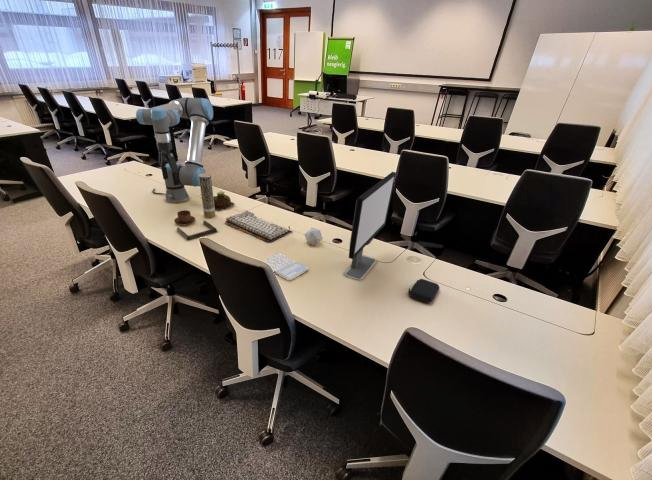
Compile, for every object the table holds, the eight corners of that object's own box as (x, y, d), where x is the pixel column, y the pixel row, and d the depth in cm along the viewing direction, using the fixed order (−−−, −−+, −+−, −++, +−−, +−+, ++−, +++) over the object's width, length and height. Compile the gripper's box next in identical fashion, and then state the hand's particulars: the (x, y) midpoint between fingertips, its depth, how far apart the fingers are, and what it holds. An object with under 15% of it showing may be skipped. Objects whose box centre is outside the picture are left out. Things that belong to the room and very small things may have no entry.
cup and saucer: (190, 228, 188) (188, 217, 184) (171, 225, 189) (169, 215, 186) (199, 219, 197) (197, 209, 193) (180, 217, 199) (178, 207, 195)
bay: (177, 231, 184) (176, 228, 183) (205, 223, 193) (204, 220, 192) (188, 240, 175) (187, 237, 174) (216, 232, 184) (216, 228, 183)
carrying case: (415, 281, 149) (404, 296, 139) (416, 275, 147) (406, 290, 137) (439, 289, 144) (430, 306, 134) (441, 283, 142) (432, 300, 132)
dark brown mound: (219, 199, 224) (217, 185, 218) (239, 204, 218) (238, 189, 213) (203, 208, 211) (201, 193, 205) (224, 213, 206) (222, 197, 200)
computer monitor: (352, 290, 142) (368, 200, 118) (334, 284, 145) (346, 195, 121) (383, 252, 170) (401, 173, 146) (368, 248, 173) (383, 169, 149)
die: (324, 244, 177) (320, 226, 177) (321, 243, 168) (317, 224, 168) (309, 248, 179) (305, 230, 179) (306, 247, 171) (301, 228, 170)
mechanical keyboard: (292, 231, 187) (292, 226, 185) (269, 243, 175) (269, 237, 173) (245, 214, 206) (245, 208, 204) (222, 223, 194) (221, 218, 192)
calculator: (278, 255, 165) (278, 252, 164) (308, 270, 154) (309, 267, 153) (259, 265, 157) (258, 261, 156) (289, 281, 146) (289, 278, 145)
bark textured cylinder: (216, 214, 204) (212, 173, 189) (213, 218, 198) (208, 176, 184) (206, 213, 204) (200, 172, 189) (202, 218, 199) (196, 176, 184)
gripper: (147, 138, 181) (155, 177, 193) (167, 146, 166) (174, 188, 178) (160, 136, 185) (167, 175, 197) (181, 144, 170) (187, 186, 182)
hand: (171, 181), depth 188 cm, fingers open, 13 cm apart
